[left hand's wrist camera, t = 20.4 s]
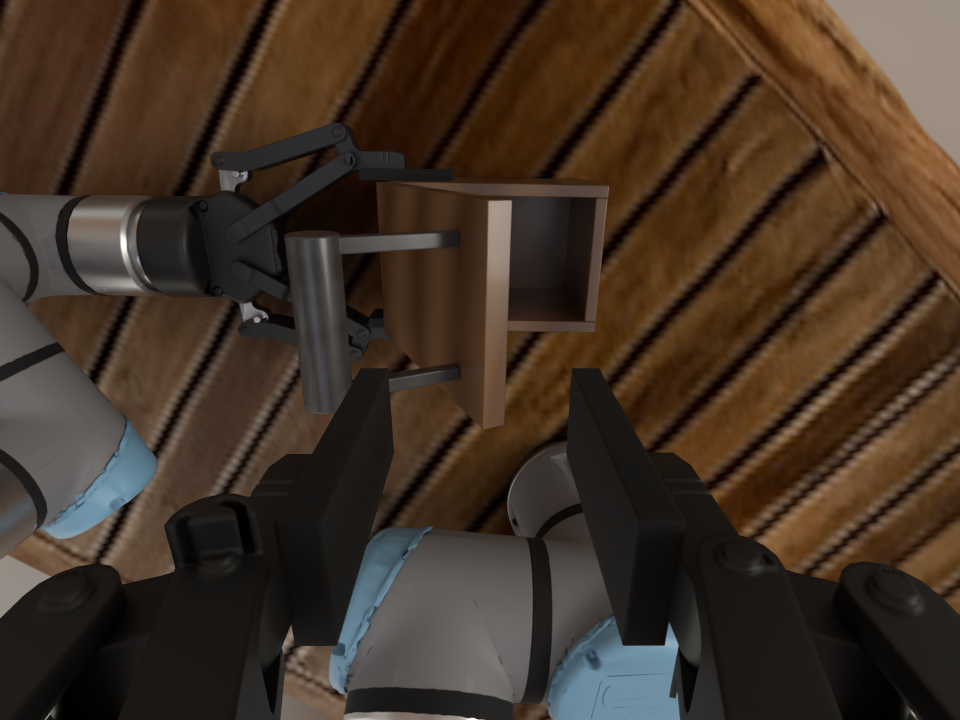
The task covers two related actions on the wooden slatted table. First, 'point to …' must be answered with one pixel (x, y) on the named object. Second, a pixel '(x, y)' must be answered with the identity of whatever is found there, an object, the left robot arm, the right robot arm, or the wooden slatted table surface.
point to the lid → (413, 297)
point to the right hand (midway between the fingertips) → (452, 250)
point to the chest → (548, 247)
